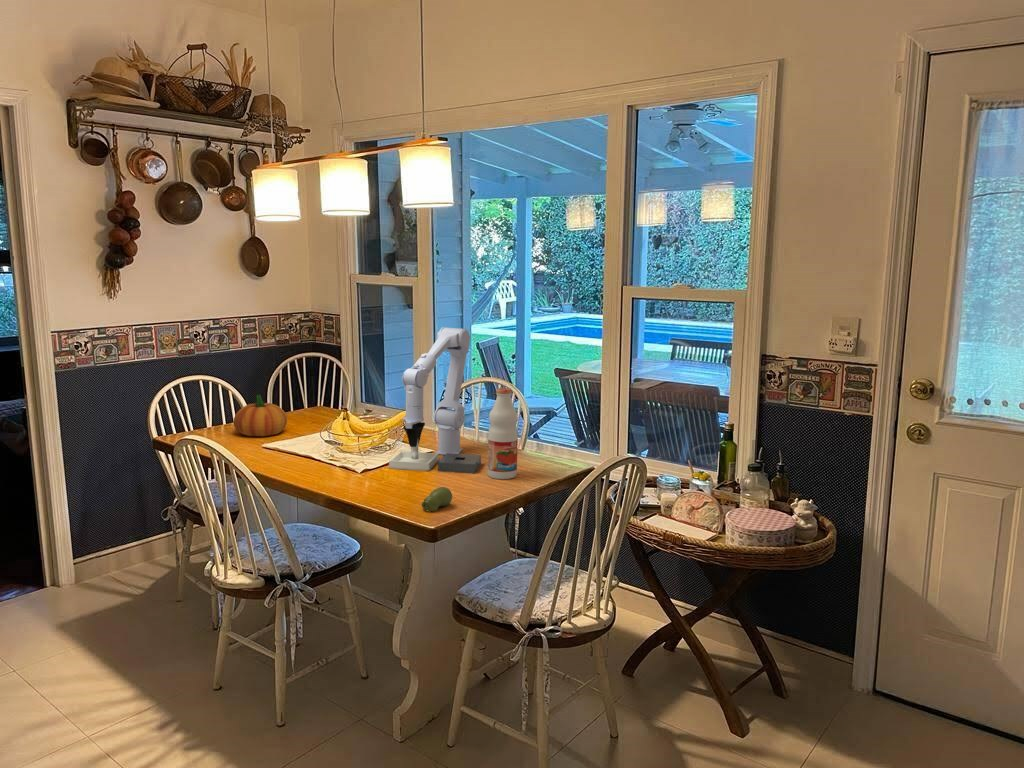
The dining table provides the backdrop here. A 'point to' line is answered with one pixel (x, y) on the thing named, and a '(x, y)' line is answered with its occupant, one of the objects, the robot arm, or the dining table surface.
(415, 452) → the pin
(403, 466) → the tray
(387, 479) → the dining table surface
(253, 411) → the pumpkin
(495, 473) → the fruit juice
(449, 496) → the pear
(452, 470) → the block
